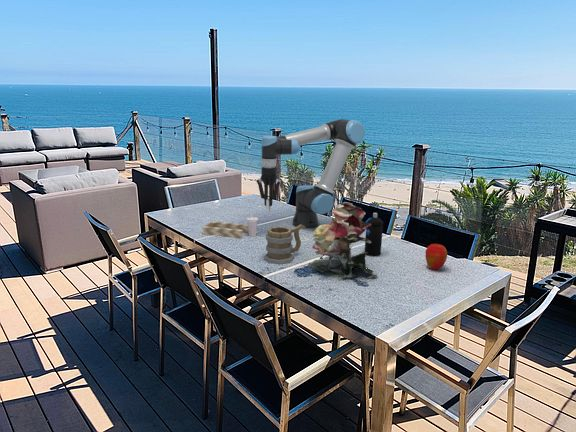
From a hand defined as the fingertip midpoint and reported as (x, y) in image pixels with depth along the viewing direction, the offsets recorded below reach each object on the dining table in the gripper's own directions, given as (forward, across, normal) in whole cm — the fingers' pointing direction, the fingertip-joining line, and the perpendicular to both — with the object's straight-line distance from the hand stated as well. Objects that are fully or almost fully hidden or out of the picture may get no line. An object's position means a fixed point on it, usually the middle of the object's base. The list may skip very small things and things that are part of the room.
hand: (268, 211), depth 228 cm
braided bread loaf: (+14, -24, 0) cm, 28 cm away
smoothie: (+14, -9, 0) cm, 17 cm away
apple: (+14, +83, -19) cm, 86 cm away
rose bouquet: (+14, +44, -32) cm, 56 cm away
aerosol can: (+14, +55, -8) cm, 58 cm away
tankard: (+14, +17, -26) cm, 34 cm away
